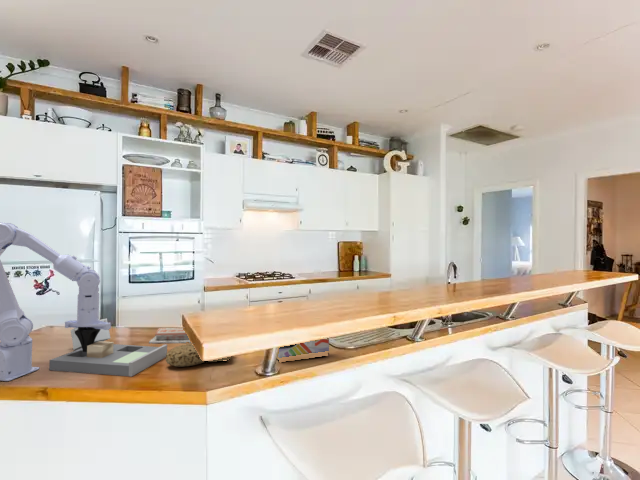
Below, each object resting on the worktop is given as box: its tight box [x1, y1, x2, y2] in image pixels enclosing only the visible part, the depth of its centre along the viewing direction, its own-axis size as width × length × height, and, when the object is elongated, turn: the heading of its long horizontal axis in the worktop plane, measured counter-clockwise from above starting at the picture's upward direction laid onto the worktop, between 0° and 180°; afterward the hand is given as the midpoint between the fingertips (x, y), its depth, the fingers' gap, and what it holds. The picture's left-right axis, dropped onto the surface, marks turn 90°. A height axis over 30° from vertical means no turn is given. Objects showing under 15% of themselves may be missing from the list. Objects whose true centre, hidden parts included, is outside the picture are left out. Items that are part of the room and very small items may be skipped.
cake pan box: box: [278, 337, 330, 358], centre depth 119 cm, size 19×5×18 cm, turn 112°
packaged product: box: [148, 327, 192, 345], centre depth 138 cm, size 18×5×10 cm
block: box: [87, 341, 115, 358], centre depth 110 cm, size 5×5×4 cm
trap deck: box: [48, 343, 168, 377], centre depth 111 cm, size 18×27×4 cm, turn 83°
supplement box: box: [70, 318, 111, 351], centre depth 123 cm, size 7×7×13 cm
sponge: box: [165, 343, 232, 368], centre depth 113 cm, size 13×8×20 cm
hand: (87, 351), depth 110 cm, fingers closed
